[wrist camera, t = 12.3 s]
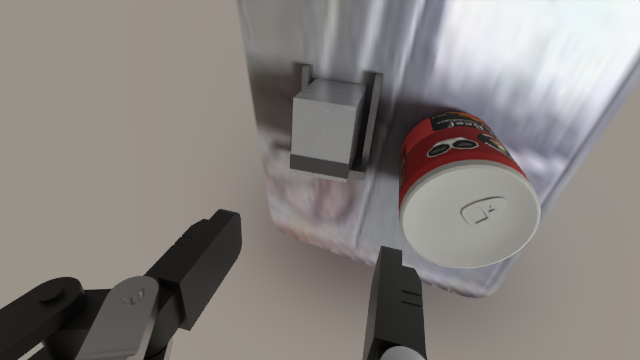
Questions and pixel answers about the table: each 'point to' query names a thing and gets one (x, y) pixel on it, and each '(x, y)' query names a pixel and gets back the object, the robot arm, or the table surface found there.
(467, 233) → the canned food
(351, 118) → the block
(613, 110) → the table surface
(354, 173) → the rail channel
